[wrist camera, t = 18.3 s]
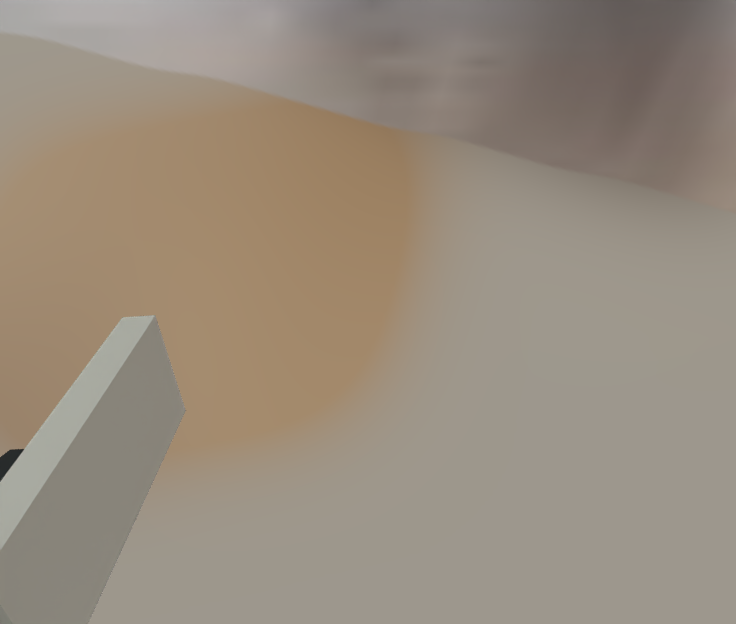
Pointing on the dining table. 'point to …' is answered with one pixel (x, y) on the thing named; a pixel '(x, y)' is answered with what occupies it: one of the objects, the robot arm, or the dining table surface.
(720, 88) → the dining table surface
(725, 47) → the dining table surface
